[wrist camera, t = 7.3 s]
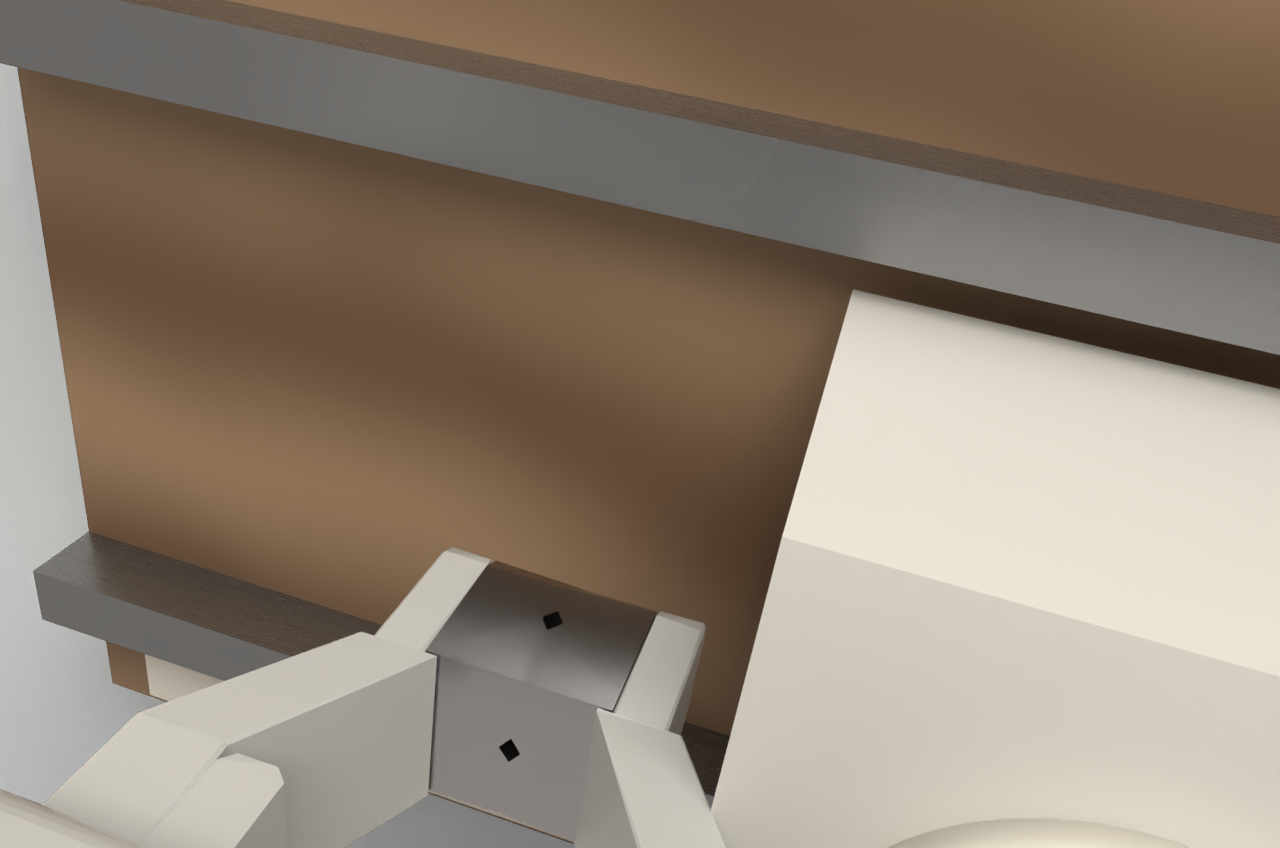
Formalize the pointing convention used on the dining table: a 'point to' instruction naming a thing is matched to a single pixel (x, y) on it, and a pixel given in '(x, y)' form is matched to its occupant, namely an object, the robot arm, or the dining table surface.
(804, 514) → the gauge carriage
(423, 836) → the dining table surface
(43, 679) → the dining table surface
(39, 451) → the dining table surface
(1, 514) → the dining table surface
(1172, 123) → the gauge bench
